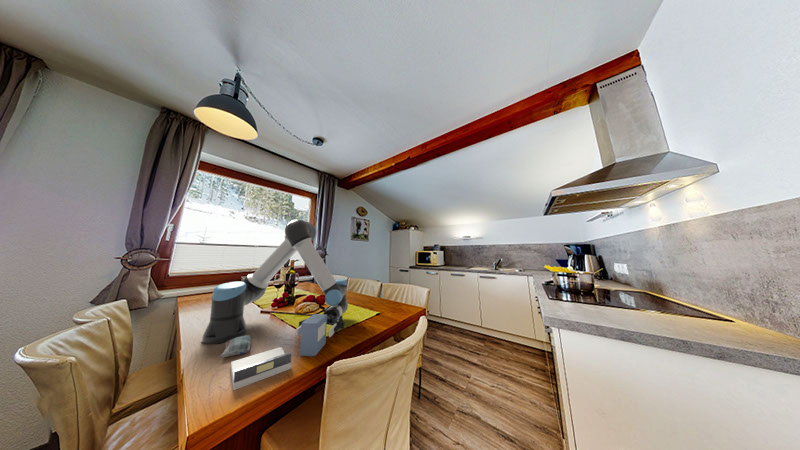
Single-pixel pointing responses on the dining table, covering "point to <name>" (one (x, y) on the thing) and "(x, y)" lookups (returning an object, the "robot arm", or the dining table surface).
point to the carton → (313, 334)
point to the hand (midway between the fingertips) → (313, 333)
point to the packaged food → (237, 346)
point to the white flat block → (259, 367)
